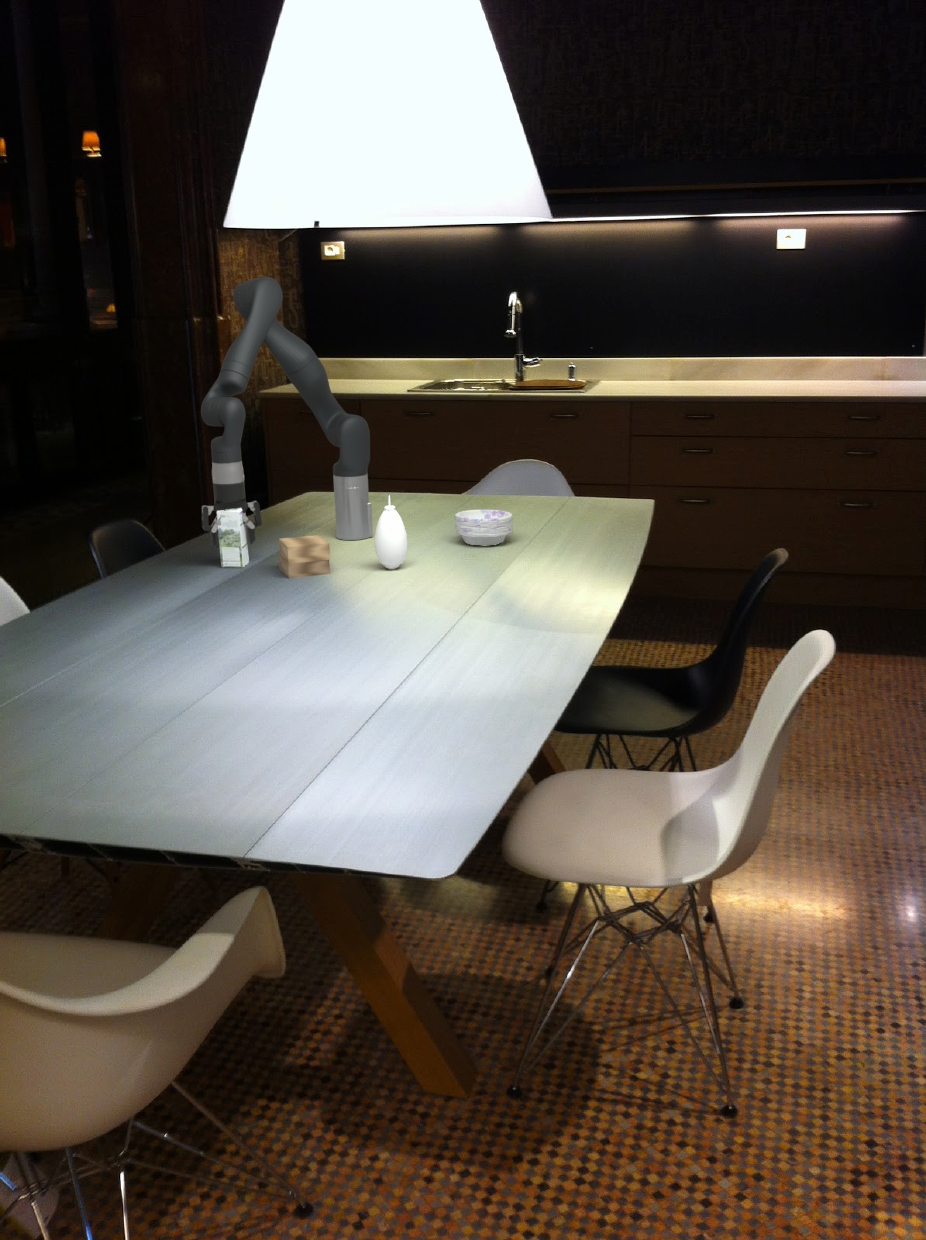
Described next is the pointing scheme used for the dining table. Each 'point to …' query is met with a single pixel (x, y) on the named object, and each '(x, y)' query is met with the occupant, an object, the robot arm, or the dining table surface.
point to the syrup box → (232, 539)
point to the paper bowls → (483, 526)
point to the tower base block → (304, 568)
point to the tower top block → (304, 549)
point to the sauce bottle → (390, 538)
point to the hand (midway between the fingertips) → (233, 545)
